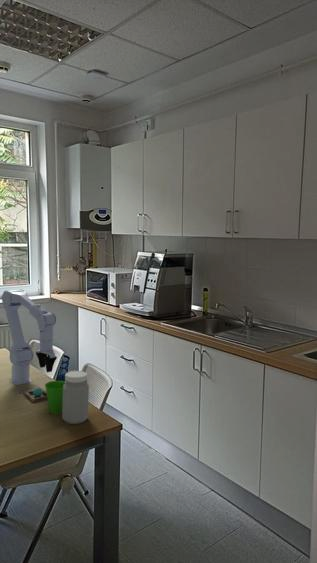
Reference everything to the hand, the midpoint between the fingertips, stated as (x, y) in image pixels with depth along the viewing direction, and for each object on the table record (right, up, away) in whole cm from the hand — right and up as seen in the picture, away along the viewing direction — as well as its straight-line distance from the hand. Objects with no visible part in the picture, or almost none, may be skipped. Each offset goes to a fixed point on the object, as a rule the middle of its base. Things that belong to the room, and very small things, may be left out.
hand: (45, 369), depth 185 cm
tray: (-2, -11, -7) cm, 13 cm away
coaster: (-9, -10, -2) cm, 13 cm away
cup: (+10, -13, -20) cm, 26 cm away
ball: (-2, -10, -7) cm, 13 cm away
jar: (+19, -14, -27) cm, 36 cm away
